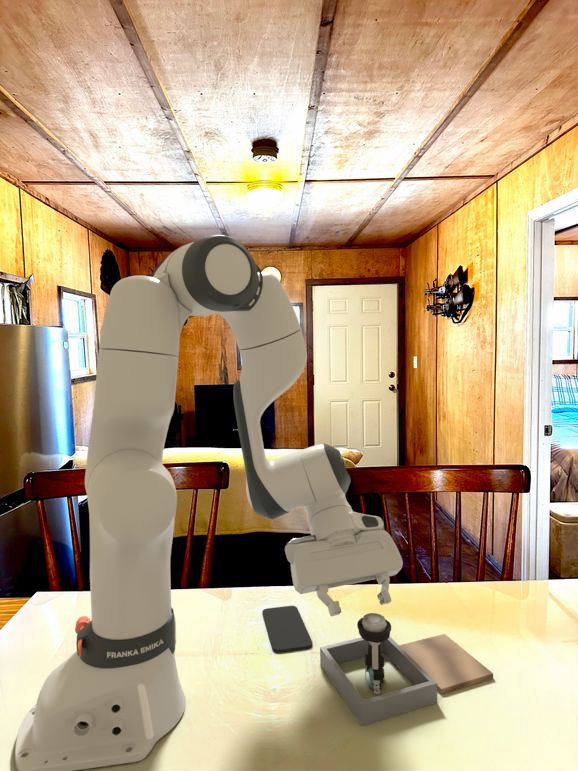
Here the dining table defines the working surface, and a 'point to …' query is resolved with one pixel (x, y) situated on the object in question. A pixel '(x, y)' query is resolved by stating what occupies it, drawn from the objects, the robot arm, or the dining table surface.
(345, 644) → the gray rectangular frame
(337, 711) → the dining table surface
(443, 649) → the walnut board
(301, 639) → the phone
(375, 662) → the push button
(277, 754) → the dining table surface
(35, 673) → the dining table surface
